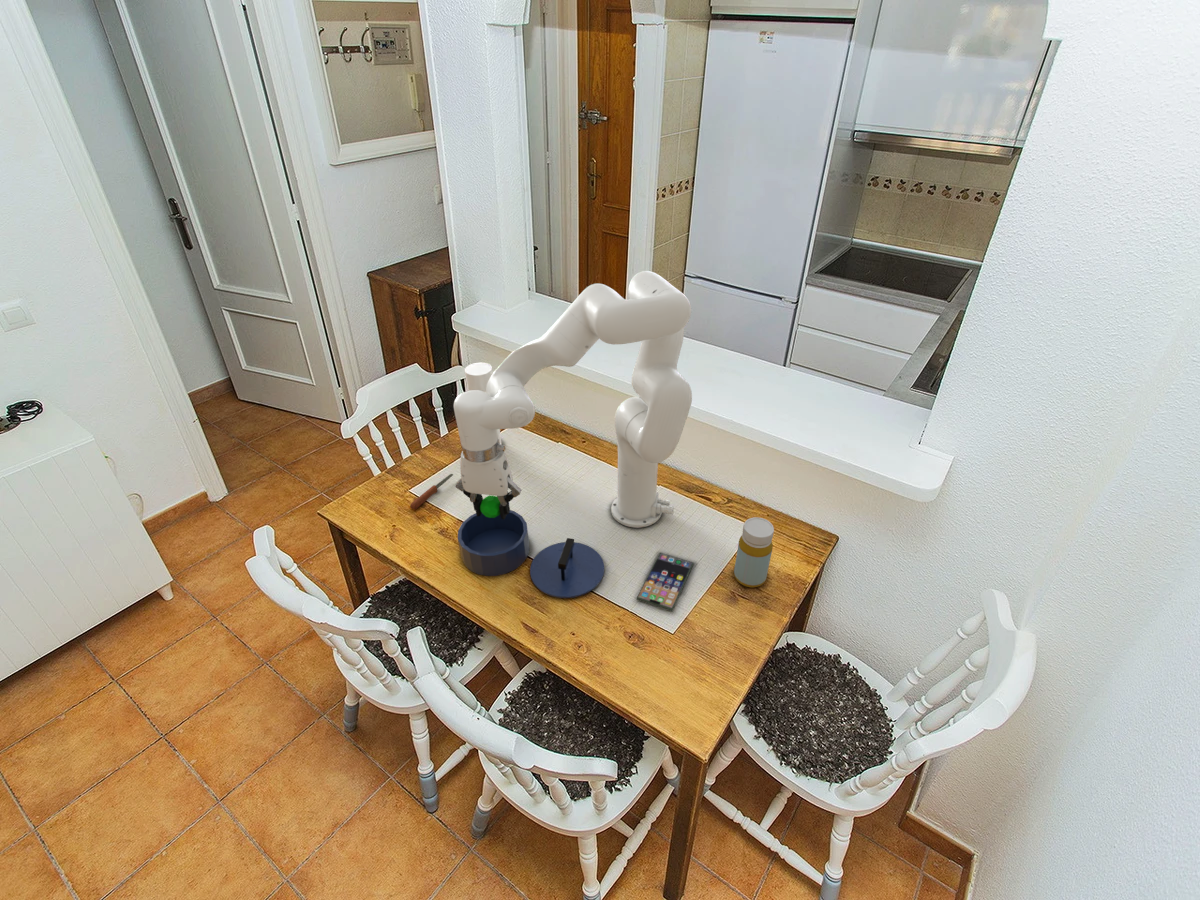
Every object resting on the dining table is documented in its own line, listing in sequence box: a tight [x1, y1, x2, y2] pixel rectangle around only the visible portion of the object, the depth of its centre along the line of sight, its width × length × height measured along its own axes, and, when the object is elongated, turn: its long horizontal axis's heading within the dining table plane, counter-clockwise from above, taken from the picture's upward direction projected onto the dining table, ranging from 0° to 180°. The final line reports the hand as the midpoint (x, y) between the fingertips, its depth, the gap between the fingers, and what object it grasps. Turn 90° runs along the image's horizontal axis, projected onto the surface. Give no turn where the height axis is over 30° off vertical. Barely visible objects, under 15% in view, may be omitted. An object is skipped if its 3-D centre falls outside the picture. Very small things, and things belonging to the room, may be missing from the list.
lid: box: [529, 537, 605, 599], centre depth 140 cm, size 17×17×6 cm
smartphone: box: [635, 552, 695, 612], centre depth 138 cm, size 8×15×1 cm, turn 156°
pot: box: [457, 509, 530, 577], centre depth 145 cm, size 16×16×6 cm
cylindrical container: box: [464, 361, 503, 445], centre depth 174 cm, size 7×7×25 cm
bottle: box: [733, 516, 775, 588], centre depth 135 cm, size 7×7×15 cm
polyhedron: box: [480, 495, 500, 518], centre depth 140 cm, size 5×5×5 cm
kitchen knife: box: [409, 473, 454, 510], centre depth 164 cm, size 16×1×2 cm, turn 150°
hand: (492, 513), depth 141 cm, fingers closed on polyhedron, 5 cm apart
